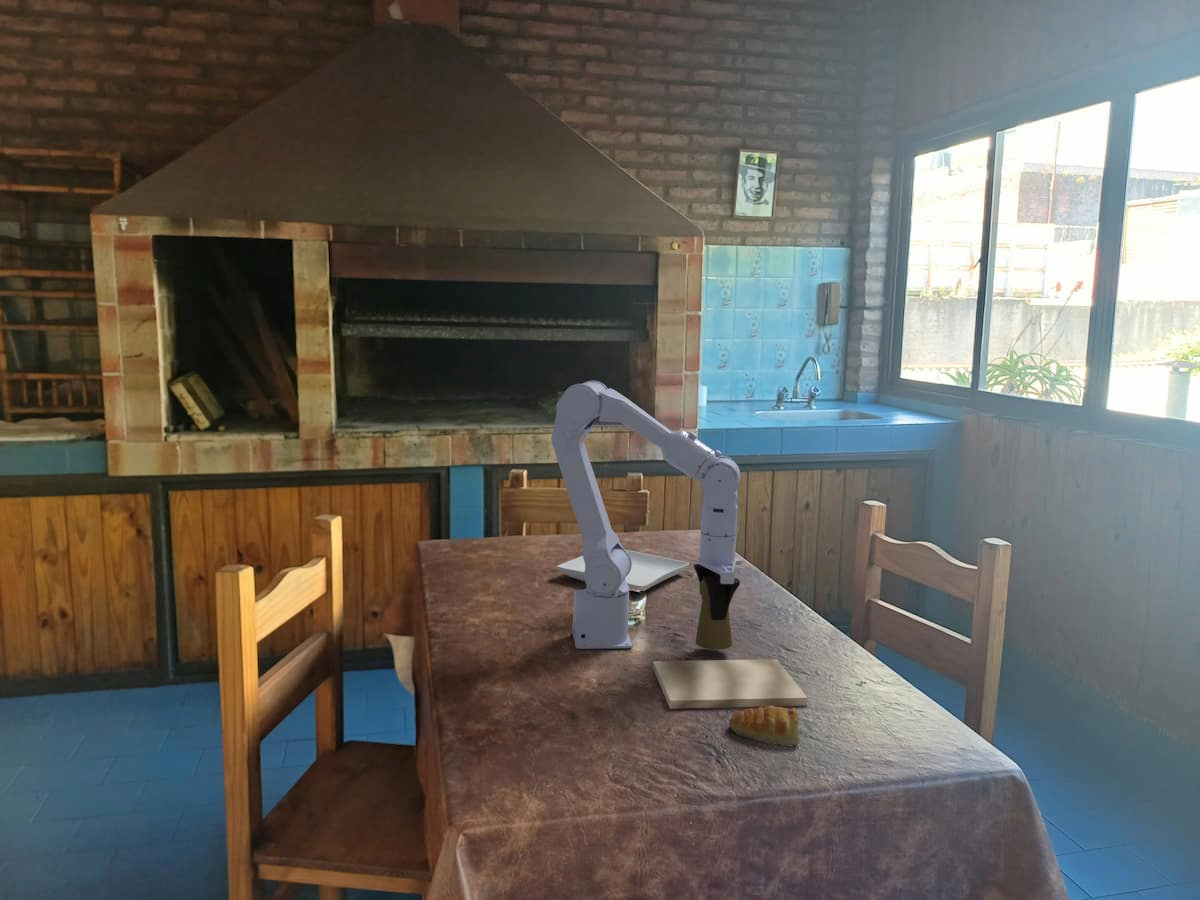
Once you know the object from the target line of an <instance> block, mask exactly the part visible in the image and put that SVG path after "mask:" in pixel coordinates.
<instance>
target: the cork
mask: <svg viewBox="0 0 1200 900" xmlns="http://www.w3.org/2000/svg"><path fill="white" fill-rule="evenodd" d="M699 594H700V596H701V601H702V602H701V605H700V610H699V611H700V613H699V616H698V617H699V618H698V625H697V629H696V630H697V631H696V635H695V644H696V645H697V646H698V647H700V648H703V649H707V650H715V651H716V650H717V651H718V650H726V649H729V648H731V647H732V646H733V639H732V638H733V637H732V629H731V628H732V627H731V620H730V619H731V618H730V609H729V608H728V611H727V615H726V618H725V620H712V618H711V613H710V603H709V595H708V590H707V587H706V584H705V582H704V580H702V581H701V583H699ZM702 597H703V599H702Z"/></svg>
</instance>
